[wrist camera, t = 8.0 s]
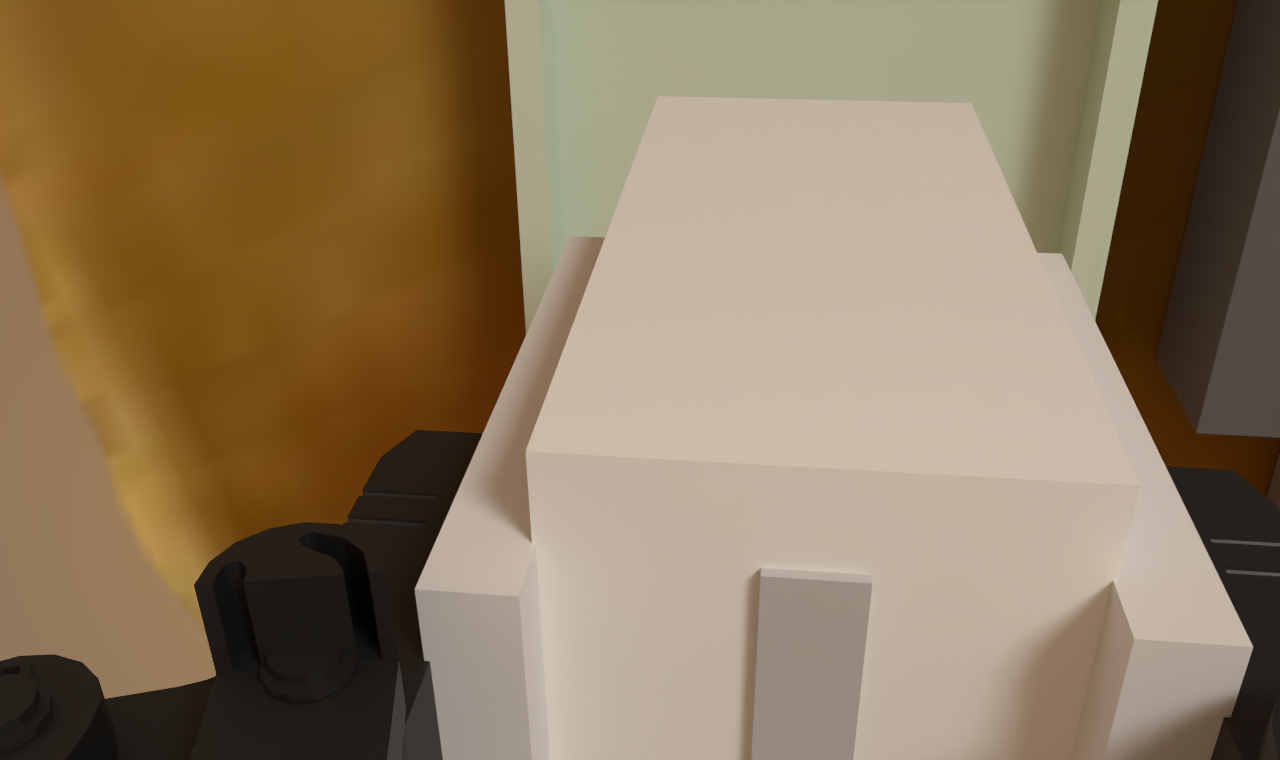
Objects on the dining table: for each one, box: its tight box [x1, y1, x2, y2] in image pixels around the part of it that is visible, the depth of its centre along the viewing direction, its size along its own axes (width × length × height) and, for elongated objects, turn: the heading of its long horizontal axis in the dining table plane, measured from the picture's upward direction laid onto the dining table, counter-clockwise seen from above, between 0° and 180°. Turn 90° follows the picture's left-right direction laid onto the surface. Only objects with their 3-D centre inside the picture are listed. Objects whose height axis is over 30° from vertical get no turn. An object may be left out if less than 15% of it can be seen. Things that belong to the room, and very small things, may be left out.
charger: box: [526, 96, 1140, 760], centre depth 13 cm, size 4×4×9 cm
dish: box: [505, 0, 1158, 334], centre depth 22 cm, size 11×11×2 cm
